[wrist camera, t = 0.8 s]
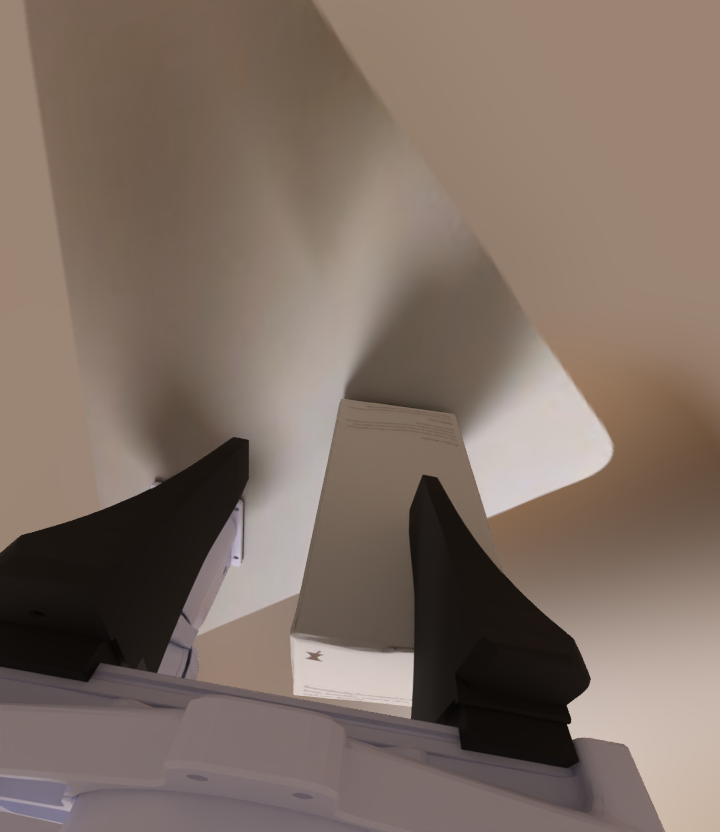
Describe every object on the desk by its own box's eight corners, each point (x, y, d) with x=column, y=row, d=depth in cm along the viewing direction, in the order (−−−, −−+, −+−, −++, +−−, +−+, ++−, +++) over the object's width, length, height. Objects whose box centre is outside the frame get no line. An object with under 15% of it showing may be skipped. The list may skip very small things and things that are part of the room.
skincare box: (334, 455, 26) (280, 696, 14) (341, 390, 22) (275, 641, 10) (441, 471, 26) (477, 728, 14) (464, 409, 22) (540, 683, 10)
